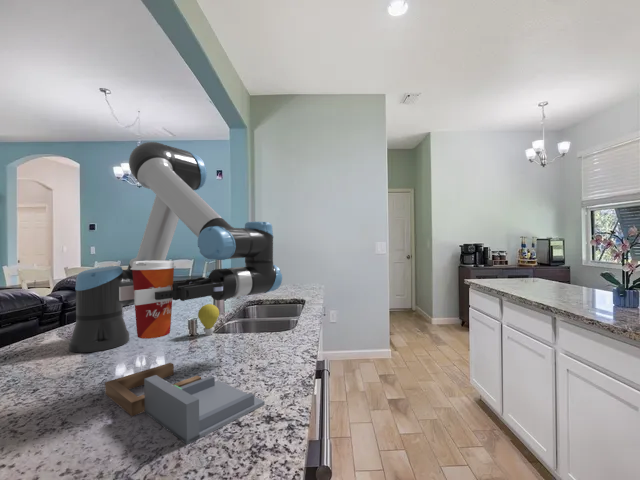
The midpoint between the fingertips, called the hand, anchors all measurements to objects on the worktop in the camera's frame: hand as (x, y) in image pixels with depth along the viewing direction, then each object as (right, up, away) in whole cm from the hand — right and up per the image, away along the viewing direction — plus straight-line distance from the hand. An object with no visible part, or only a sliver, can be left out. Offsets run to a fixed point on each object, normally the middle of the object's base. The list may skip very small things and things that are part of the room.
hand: (127, 295), depth 62 cm
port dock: (+16, -20, -4) cm, 26 cm away
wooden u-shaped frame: (+3, -20, +4) cm, 21 cm away
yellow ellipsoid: (0, -21, +45) cm, 49 cm away
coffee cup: (+3, -9, +4) cm, 10 cm away
